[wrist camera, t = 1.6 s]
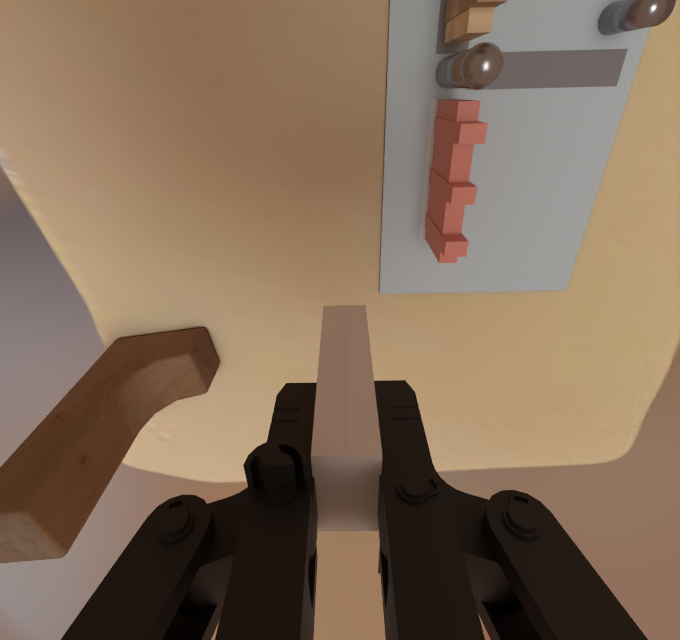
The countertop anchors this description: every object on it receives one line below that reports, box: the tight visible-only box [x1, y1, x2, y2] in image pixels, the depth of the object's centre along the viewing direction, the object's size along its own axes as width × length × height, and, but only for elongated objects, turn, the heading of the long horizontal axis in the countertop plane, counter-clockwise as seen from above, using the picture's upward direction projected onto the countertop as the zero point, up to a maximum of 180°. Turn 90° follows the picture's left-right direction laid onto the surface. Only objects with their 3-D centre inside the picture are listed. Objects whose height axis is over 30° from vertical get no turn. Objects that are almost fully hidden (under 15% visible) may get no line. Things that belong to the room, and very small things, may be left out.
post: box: [436, 42, 504, 90], centre depth 21 cm, size 2×2×8 cm
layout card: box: [379, 0, 650, 294], centre depth 26 cm, size 28×16×1 cm, turn 1°
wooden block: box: [0, 328, 219, 563], centre depth 29 cm, size 9×4×18 cm, turn 99°
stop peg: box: [598, 0, 676, 36], centre depth 21 cm, size 2×2×4 cm
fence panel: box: [425, 99, 488, 263], centre depth 25 cm, size 10×1×6 cm, turn 1°
